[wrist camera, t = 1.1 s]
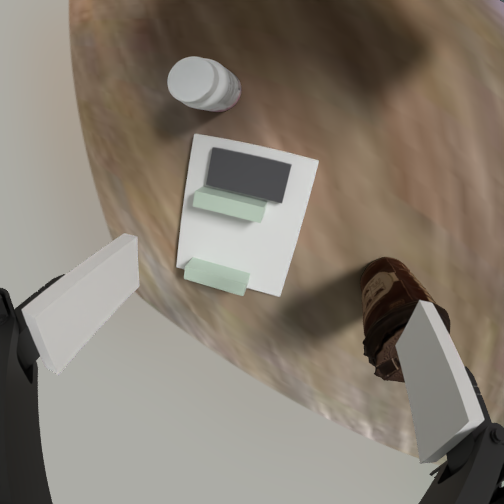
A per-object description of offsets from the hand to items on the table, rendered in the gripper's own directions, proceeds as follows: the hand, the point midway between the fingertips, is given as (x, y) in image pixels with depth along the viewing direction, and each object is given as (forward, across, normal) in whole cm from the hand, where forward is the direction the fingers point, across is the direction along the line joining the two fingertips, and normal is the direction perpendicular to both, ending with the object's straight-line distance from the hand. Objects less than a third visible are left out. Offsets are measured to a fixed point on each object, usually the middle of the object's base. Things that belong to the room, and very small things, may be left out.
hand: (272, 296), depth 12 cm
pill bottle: (+20, -10, +10) cm, 24 cm away
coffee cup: (+19, +12, -8) cm, 24 cm away
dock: (+19, -5, -4) cm, 20 cm away
